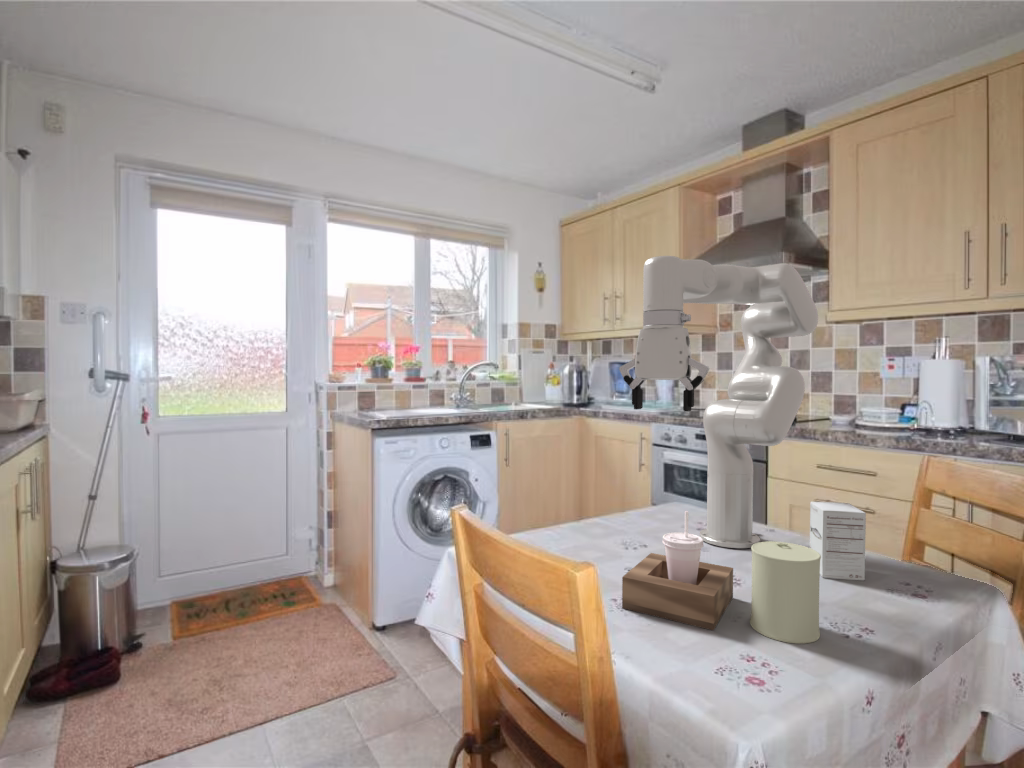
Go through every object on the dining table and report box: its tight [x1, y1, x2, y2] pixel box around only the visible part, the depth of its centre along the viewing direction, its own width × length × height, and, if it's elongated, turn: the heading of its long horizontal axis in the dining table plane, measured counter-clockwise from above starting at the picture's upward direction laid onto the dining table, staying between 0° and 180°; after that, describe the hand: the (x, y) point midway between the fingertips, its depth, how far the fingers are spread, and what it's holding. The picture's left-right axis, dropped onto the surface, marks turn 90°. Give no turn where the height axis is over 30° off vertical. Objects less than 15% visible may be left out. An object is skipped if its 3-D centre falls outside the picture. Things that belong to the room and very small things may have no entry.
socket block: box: [621, 552, 734, 631], centre depth 90 cm, size 14×14×5 cm
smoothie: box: [662, 510, 704, 585], centre depth 89 cm, size 6×6×14 cm
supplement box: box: [809, 501, 867, 581], centre depth 103 cm, size 7×7×13 cm
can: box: [749, 540, 821, 645], centre depth 81 cm, size 9×9×12 cm
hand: (662, 410), depth 107 cm, fingers open, 9 cm apart
